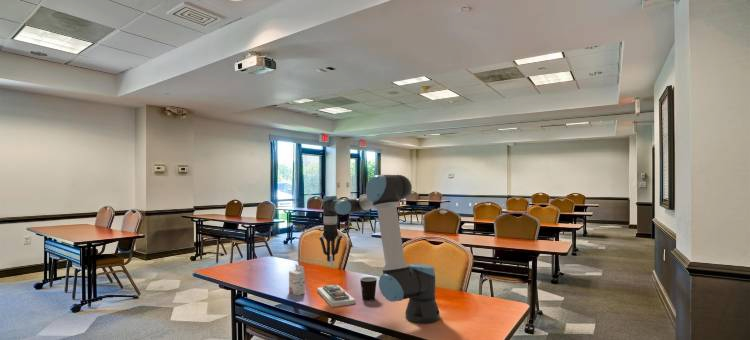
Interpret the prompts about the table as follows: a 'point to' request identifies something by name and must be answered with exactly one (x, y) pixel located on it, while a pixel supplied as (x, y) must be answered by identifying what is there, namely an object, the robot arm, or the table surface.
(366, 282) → the coffee mug
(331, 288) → the slate button
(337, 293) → the clay button
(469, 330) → the table surface
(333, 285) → the sage button
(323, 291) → the button panel
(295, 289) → the ink cartridge box
